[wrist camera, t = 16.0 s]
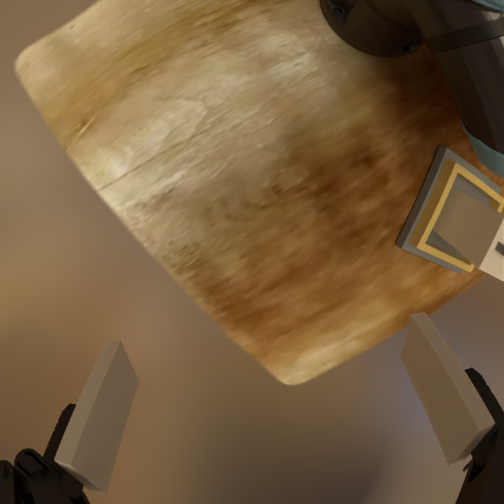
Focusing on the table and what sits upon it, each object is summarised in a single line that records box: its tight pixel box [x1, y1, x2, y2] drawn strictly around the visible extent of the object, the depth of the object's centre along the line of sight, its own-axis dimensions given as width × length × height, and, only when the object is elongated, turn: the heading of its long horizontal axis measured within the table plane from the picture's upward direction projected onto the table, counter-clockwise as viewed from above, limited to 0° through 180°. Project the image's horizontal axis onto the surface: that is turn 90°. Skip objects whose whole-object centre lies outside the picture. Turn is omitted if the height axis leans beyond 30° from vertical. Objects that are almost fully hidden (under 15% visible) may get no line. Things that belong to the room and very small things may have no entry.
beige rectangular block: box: [432, 187, 504, 281], centre depth 32 cm, size 7×7×14 cm
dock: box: [396, 145, 504, 274], centre depth 38 cm, size 16×14×4 cm
